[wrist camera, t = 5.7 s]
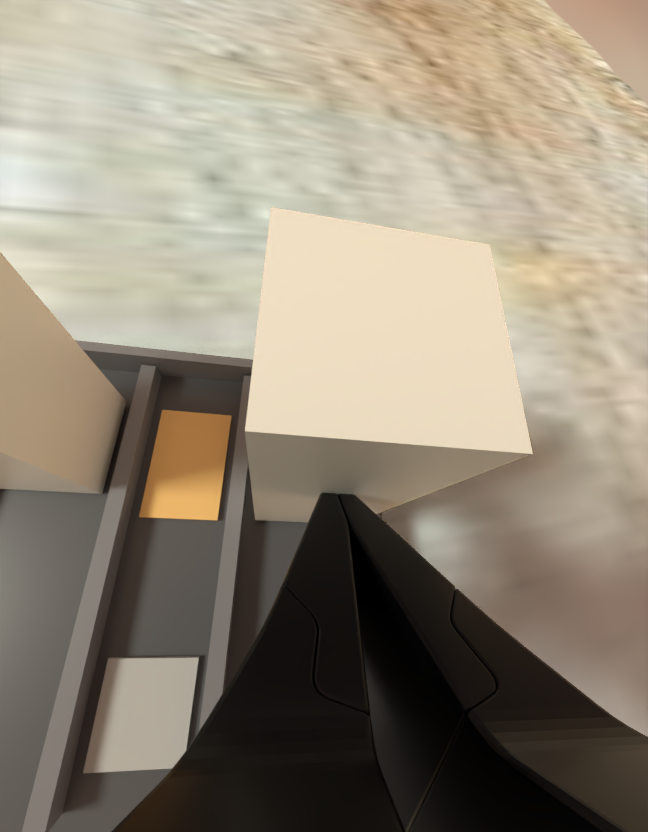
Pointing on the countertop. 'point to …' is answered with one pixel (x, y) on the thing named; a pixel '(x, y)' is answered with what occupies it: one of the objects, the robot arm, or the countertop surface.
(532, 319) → the countertop surface
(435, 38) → the countertop surface
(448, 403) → the cream tall block
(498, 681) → the robot arm
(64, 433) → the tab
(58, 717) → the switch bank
